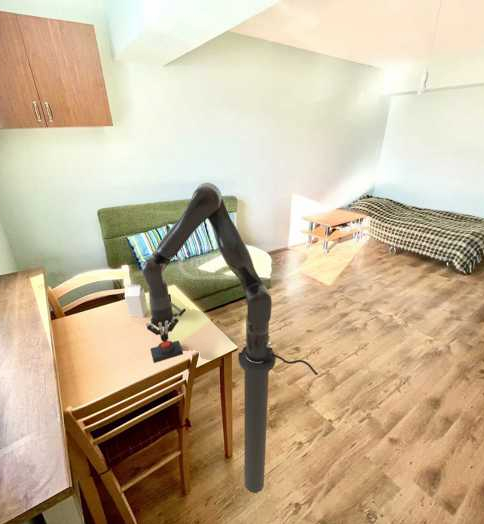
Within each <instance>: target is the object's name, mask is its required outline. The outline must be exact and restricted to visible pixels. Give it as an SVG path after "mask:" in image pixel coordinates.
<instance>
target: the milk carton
mask: <svg viewBox="0 0 484 524" xmlns="http://www.w3.org/2000/svg"><path fill="white" fill-rule="evenodd" d="M124 299H125V304H126V308H127V313H128V316H129V317H131V318H145V316H146V315H147V313H148V312H149V309H148V303H147V297H146V294H145V289H144V287H142V286H141V284H125V289H124Z"/></svg>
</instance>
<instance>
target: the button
mask: <svg viewBox="0 0 484 524" xmlns="http://www.w3.org/2000/svg"><path fill="white" fill-rule="evenodd" d="M170 341H171V340H167V341H166V342H163V341H161V342H162V343H161V342H160V343H161V347H162V349H168V348H170Z"/></svg>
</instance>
